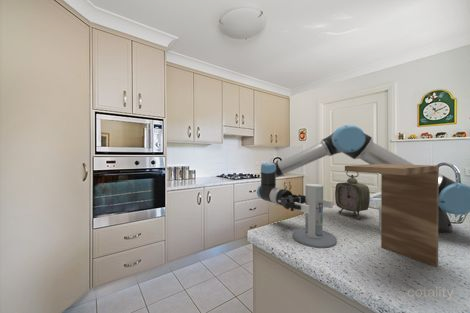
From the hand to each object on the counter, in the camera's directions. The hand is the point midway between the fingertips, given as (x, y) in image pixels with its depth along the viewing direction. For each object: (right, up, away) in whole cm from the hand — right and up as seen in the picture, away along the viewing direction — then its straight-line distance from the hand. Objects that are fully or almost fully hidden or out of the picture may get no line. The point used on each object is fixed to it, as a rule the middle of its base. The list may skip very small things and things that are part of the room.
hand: (321, 207), depth 74 cm
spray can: (-2, -12, +3) cm, 13 cm away
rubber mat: (-2, -13, +3) cm, 13 cm away
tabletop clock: (+31, -13, +31) cm, 46 cm away
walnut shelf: (+14, -13, -16) cm, 25 cm away
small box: (+33, -13, +7) cm, 36 cm away
